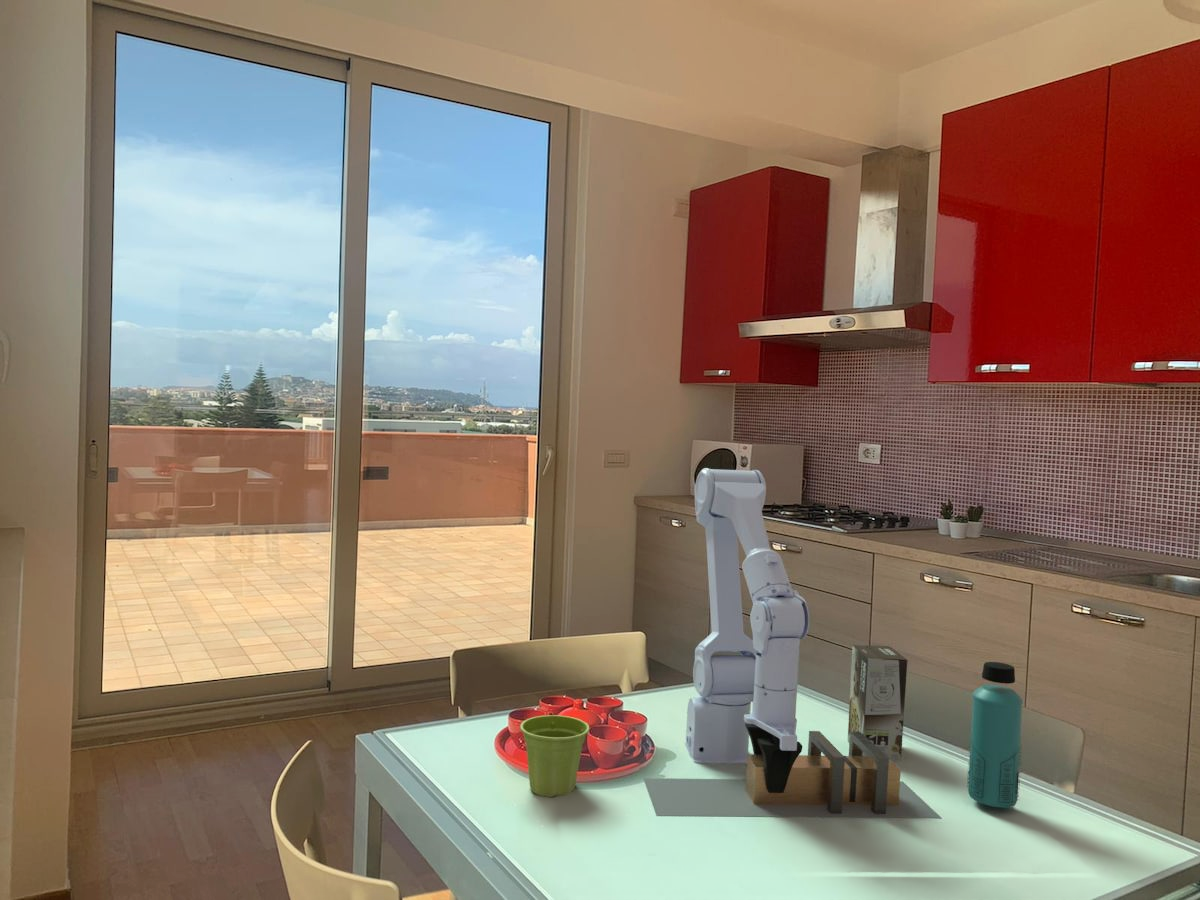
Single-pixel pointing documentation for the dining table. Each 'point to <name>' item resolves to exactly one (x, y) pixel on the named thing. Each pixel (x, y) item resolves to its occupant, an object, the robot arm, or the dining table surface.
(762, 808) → the mat
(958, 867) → the dining table surface
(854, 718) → the coffee box
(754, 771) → the striped wooden beam
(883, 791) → the collar
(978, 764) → the beverage bottle
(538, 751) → the plant pot
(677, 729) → the dining table surface
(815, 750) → the collar
